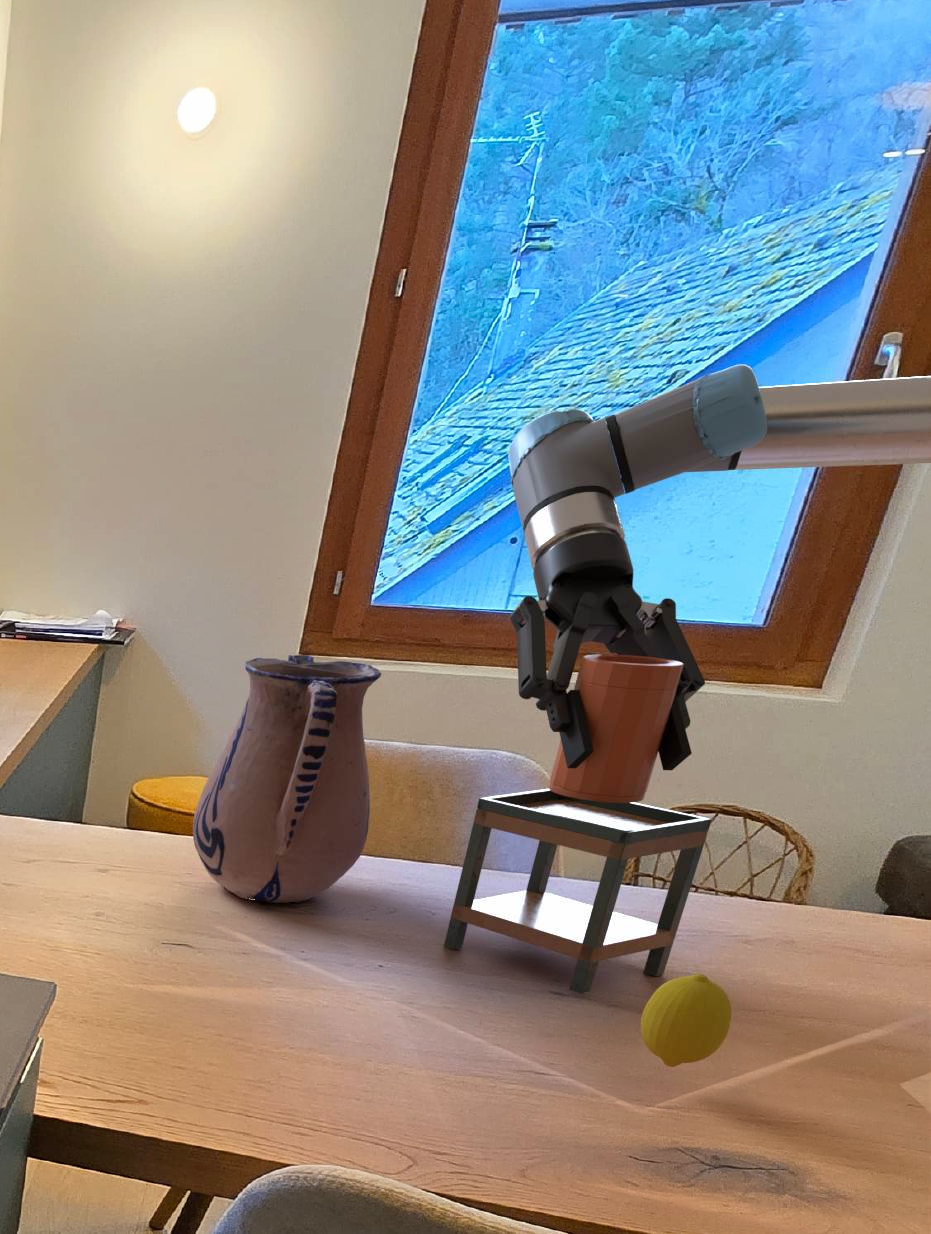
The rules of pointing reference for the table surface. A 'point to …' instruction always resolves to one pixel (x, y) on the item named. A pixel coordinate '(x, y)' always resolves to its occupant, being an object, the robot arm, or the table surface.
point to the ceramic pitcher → (289, 783)
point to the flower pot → (619, 726)
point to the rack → (598, 927)
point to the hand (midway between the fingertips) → (628, 760)
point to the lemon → (686, 1019)
